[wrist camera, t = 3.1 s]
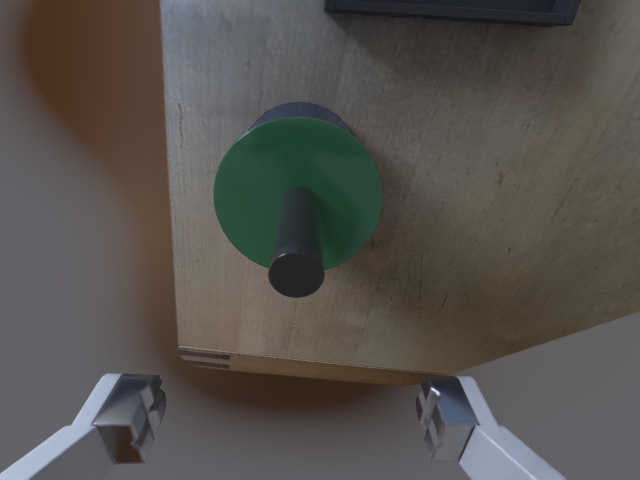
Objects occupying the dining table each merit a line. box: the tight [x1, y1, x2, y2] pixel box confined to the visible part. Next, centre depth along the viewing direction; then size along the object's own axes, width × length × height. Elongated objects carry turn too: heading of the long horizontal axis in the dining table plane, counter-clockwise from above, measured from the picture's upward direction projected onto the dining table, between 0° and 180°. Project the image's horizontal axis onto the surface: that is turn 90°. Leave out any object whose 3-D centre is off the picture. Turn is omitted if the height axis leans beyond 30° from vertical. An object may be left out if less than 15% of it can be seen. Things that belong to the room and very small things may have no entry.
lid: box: [214, 116, 383, 298], centre depth 20 cm, size 11×11×9 cm
